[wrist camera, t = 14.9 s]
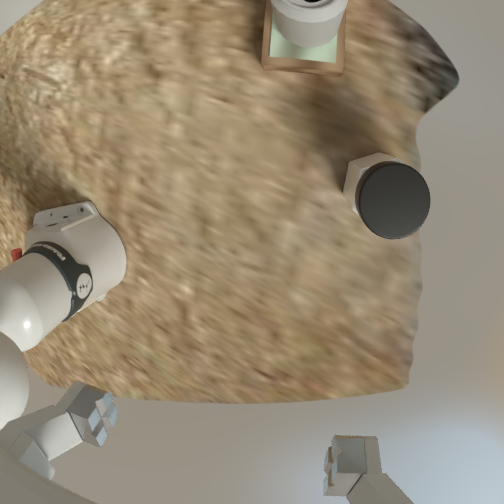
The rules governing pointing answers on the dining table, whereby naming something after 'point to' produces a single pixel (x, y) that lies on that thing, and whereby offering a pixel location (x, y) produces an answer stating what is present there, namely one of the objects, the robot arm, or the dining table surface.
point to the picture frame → (301, 51)
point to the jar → (387, 195)
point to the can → (308, 20)
